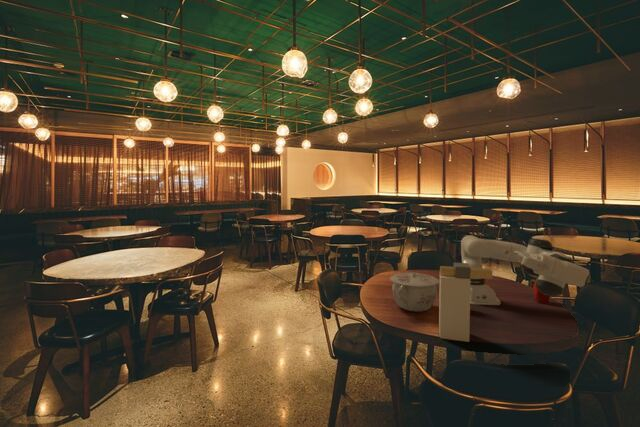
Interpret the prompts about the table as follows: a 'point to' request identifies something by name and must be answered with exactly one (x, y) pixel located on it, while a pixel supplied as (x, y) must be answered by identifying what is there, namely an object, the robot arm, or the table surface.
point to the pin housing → (455, 304)
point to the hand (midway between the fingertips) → (506, 253)
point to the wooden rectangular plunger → (473, 272)
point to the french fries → (540, 295)
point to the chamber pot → (414, 291)
